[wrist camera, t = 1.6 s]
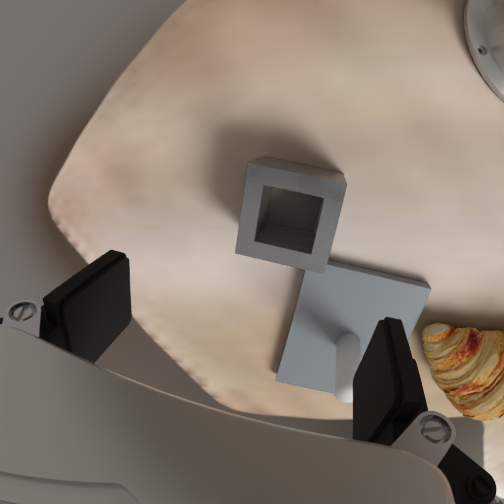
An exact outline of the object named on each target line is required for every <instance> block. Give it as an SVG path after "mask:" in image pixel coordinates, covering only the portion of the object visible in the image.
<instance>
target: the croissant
mask: <svg viewBox="0 0 504 504" xmlns="http://www.w3.org/2000/svg"><path fill="white" fill-rule="evenodd" d="M422 340H423V347H424V353H425V355H426V357H427V360H428V363H429V365H430V370H431V374H432V377H433V379H434V381H435V382H436V384H437V385H438V386H439V388H441V389H442V391H444V393H445V394H446V396H447V398H448V399H449V401H450V402H451V404H452V405H453V406H454V407H455V408H456V409H457V410H458V411H459V412H460V413H463V416H465V417H467V418H472V419H474V420H482V421H484V420H486V421H487V420H493V419H495V418H497V417H499V418H500V417H501V416H503V414H504V331H500V330H495V331H484V330H482V331H481V332H480V331H478V330H477V328H471V327H467V328H459V327H458V328H456V329H455V328H453V327H452V326H450V325H449V324H442V323H434V324H431V325H428V326H426V327H425V328H424V329H423V333H422Z"/></svg>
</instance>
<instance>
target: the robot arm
mask: <svg viewBox="0 0 504 504" xmlns="http://www.w3.org/2000/svg"><path fill="white" fill-rule="evenodd" d="M463 23H464V30H465V37H466V40H467V44H468V47H469V50H470V53H471V55H472V57H473V60H474V62H475V64H476V66H477V68H478V70H479V71H480V73H481V75H482V77H483V78H484V80H485V81H486V82H487V84H488V85H489V87H490V88H491V89H492V90H493V92H494V93H495V94H496V95H497V96H498V97H499V98H500V99H501V100H502V101H503V102H504V0H467V1H466V5H465V9H464V21H463ZM478 50H479V51H480V53H479V51H478ZM43 302H44V305H43V306H40V305H39V303H37V302H36V301H33V300H19V301H17V302H14V303H13V304H11V305H9V307H8V308H7V309H6V311H5V314H4V318H0V504H503V503H502V501H501V500H499V501H498V502H497V501H496V500H495V499H494V498H495V495H496V484H495V481H494V479H493V477H492V476H491V475H490V474H489V473H488V472H487V471H485V470H484V469H483V468H481V467H480V466H479V465H478V464H477V463H475V462H474V461H473V460H472V459H470V458H469V457H468V456H467V455H466V454H464V453H463V452H462V451H461V450H460V449H458V448H457V447H456V446H454V445H453V444H452V443H453V441H454V439H455V429H454V426H453V424H452V423H451V421H450V420H449V419H448V418H447V417H446V416H444V415H442V414H441V413H438V412H435V411H428V408H427V403H426V399H425V395H424V391H423V387H422V382H421V378H420V375H419V371H418V367H417V363H416V361H415V359H413V358H412V354H411V351H410V347H409V344H408V340H407V336H406V333H405V330H404V326H403V323H402V320H401V319H396V318H391V317H385V318H384V320H381V319H380V320H379V321H378V323H377V326H376V328H375V330H374V333H373V335H372V337H371V340H370V342H369V344H368V346H367V349H366V351H365V353H364V355H363V357H362V360H361V362H360V364H359V366H358V368H357V370H356V372H355V375H354V378H353V439H347V438H341V437H336V436H330V435H324V434H319V433H314V432H309V431H304V430H299V429H294V428H289V427H284V426H280V425H275V424H271V423H267V422H262V421H259V420H255V419H251V418H247V417H243V416H240V415H236V414H233V413H229V412H225V411H222V410H219V409H215V408H212V407H209V406H205V405H202V404H199V403H196V402H193V401H190V400H186V399H184V398H181V397H178V396H175V395H172V394H169V393H166V392H163V391H161V390H158V389H155V388H152V387H150V386H147V385H145V384H142V383H139V382H137V381H134V380H132V379H129V378H127V377H124V376H122V375H119V374H117V373H115V372H112V371H110V370H108V369H105V368H103V367H101V366H98V365H96V364H94V363H95V362H96V360H97V359H98V358H99V357H100V356H101V355H102V354H103V353H104V351H105V350H106V349H107V348H108V347H109V346H110V345H111V344H112V342H113V341H114V340H115V339H116V338H117V337H118V336H119V335H120V333H121V332H122V331H123V330H124V329H125V328H126V327H127V326H128V325H129V323H130V321H131V317H132V313H131V295H130V267H129V259H128V258H126V255H125V253H122V252H118V251H115V250H110V251H108V252H107V253H105V254H104V255H102V256H101V257H99V258H98V259H96V260H95V261H94V262H92V263H91V264H89V265H88V266H86V267H85V268H84V269H82V270H81V271H80V272H78V273H77V274H75V275H74V276H72V277H71V278H70V279H68V280H67V281H66V282H64V283H63V284H61V285H60V286H59V287H57V288H56V289H54V290H53V291H52V292H51V293H49V294H48V295H46V296H45V297H44V298H43Z"/></svg>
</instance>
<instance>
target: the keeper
mask: <svg viewBox="0 0 504 504" xmlns="http://www.w3.org/2000/svg"><path fill="white" fill-rule="evenodd" d="M430 292H431V287H430V285H429V284H428V283H424V282H420V281H415V280H411V279H407V278H403V277H399V276H395V275H390V274H386V273H382V272H378V271H374V270H370V269H365V268H361V267H357V266H353V265H348V264H344V263H340V262H336V261H332V260H328V262H327V266H326V269H325V273H324V274H321V273H317V272H313V271H309V270H305V273H304V277H303V281H302V285H301V289H300V293H299V297H298V301H297V304H296V308H295V312H294V316H293V319H292V323H291V327H290V330H289V334H288V337H287V341H286V345H285V348H284V352H283V355H282V359H281V362H280V365H279V369H278V372H277V376H276V380H275V381H278V382H282V383H287V384H291V385H295V386H300V387H304V388H309V389H314V390H319V391H324V392H329V393H334V394H335V397H336V398H337V399H338V400H339V401H341V402H346V403H350V402H353V378H354V375H355V372H356V370H357V368H358V366H359V364H360V362H361V360H362V357H363V355H364V353H365V351H366V349H367V346H368V344H369V342H370V340H371V337H372V335H373V333H374V330H375V328H376V326H377V323H378V321H379V320H380V319H381V320H384V318H385V317H391V318H396V319H401V320H402V323H403V326H404V330H405V333H406V336H407V340H408V339H409V337H410V335H411V333H412V331H413V329H414V327H415V325H416V323H417V321H418V319H419V316H420V314H421V312H422V310H423V308H424V305H425V303H426V301H427V299H428V296H429V294H430Z"/></svg>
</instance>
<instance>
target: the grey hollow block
mask: <svg viewBox="0 0 504 504" xmlns="http://www.w3.org/2000/svg"><path fill="white" fill-rule="evenodd" d="M346 186H347V183H346V180H345V177H344V174H343V173H339V172H335V171H330V170H326V169H322V168H317V167H313V166H308V165H303V164H299V163H294V162H289V161H284V160H279V159H274V158H268V157H263V156H261V157H259V158H257V159H256V160H254V161H252V162H250V163H248V168H247V174H246V181H245V188H244V194H243V201H242V208H241V215H240V222H239V229H238V235H237V242H236V249H235V253H236V254H241V255H245V256H249V257H253V258H257V259H262V260H266V261H270V262H274V263H279V264H283V265H287V266H291V267H296V268H300V269H304V270H309V271H313V272H317V273H321V274H324V273H325V269H326V266H327V262H328V258H329V255H330V251H331V247H332V243H333V239H334V236H335V232H336V228H337V224H338V220H339V216H340V212H341V208H342V203H343V199H344V195H345V191H346ZM272 187H276V188H281V189H286V190H290V191H295V192H300V193H304V194H309V195H313V196H317V197H322V201H321V206H320V210H319V215H318V219H317V224H316V228H315V232H314V233H313V232H308V231H304V230H300V229H295V228H291V227H287V226H282V225H278V224H273V223H269V222H266V219H267V213H268V208H269V202H270V196H271V190H272Z"/></svg>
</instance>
